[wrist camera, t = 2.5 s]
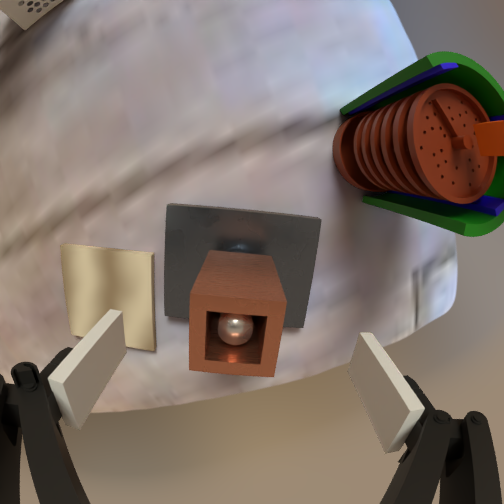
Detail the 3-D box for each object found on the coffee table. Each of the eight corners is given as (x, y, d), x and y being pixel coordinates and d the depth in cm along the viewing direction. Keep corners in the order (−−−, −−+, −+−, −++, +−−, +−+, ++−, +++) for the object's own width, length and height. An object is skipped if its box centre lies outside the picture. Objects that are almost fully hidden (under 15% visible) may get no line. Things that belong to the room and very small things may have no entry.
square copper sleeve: (206, 306, 25) (189, 370, 16) (209, 249, 23) (189, 293, 15) (264, 311, 25) (273, 377, 16) (271, 255, 24) (286, 302, 15)
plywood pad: (75, 330, 30) (71, 334, 29) (64, 243, 27) (60, 245, 27) (156, 346, 31) (154, 351, 30) (154, 252, 28) (151, 255, 27)
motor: (311, 121, 25) (437, 33, 6) (383, 90, 24) (528, 24, 5) (359, 214, 28) (516, 284, 8) (423, 177, 27) (583, 201, 7)
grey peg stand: (168, 309, 30) (129, 384, 18) (170, 203, 27) (116, 225, 15) (300, 321, 30) (329, 400, 18) (317, 217, 28) (369, 249, 15)
